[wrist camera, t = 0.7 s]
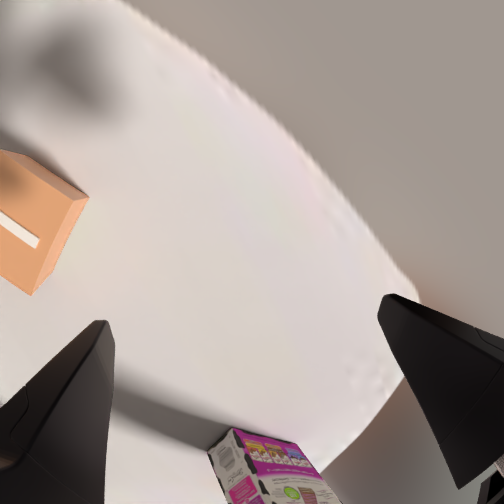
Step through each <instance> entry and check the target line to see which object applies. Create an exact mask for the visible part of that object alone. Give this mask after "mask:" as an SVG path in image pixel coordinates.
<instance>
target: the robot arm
mask: <svg viewBox="0 0 504 504" xmlns="http://www.w3.org/2000/svg"><path fill="white" fill-rule="evenodd" d="M377 318H378V322H379V324H380V326H381V328H382V330H383V333H384V335H385V337H386V340H387V342H388V344H389V347H390V349H391V351H392V353H393V355H394V357H395V359H396V361H397V363H398V365H399V366H400V368H401V370H402V372H403V374H404V376H405V378H406V379H407V381H408V383H409V385H410V387H411V389H412V391H413V393H414V395H415V397H416V399H417V401H418V403H419V405H420V406H421V409H422V411H423V413H424V415H425V417H426V419H427V421H428V423H429V425H430V427H431V429H432V431H433V433H434V436H435V438H436V440H437V442H438V444H439V447H440V449H441V451H442V453H443V456H444V458H445V460H446V463H447V465H448V467H449V470H450V472H451V474H452V477H453V479H454V481H455V484H456V486H457V488H458V489H461V488H462V487H464V486H465V485H466V484H468V483H469V482H471V481H472V480H473V479H474V478H476V477H477V476H478V475H480V474H481V473H482V472H483V471H485V470H486V469H487V468H488V467H489V466H491V465H492V464H493V463H494V465H495V466H496V468H497V470H496V471H495V472H494V473H493V474H491V475H490V476H489V477H488V478H487V479H486V480H485V481H483V482H482V483H481V488H480V493H479V498H478V502H477V504H504V339H503V338H500V337H498V336H495V335H493V334H490V333H488V332H485V331H483V330H481V329H478V328H476V327H475V328H474V327H473V326H471V325H469V324H466V323H464V322H462V321H459V320H457V319H454V318H452V317H450V316H447V315H445V314H443V313H440V312H438V311H436V310H433V309H431V308H428V307H426V306H424V305H421V304H419V303H416V302H414V301H411V300H409V299H407V298H404V297H402V296H399V295H397V294H387V295H384V296H383V298H382V301H381V304H380V307H379V311H378V315H377ZM114 359H115V342H114V338H113V335H112V332H111V329H110V325H109V323H108V321H106V320H95V321H93V322H92V323H91V324H90V325H89V326H88V327H86V328H85V329H84V330H83V331H82V332H81V333H80V334H79V335H78V336H76V337H75V338H74V339H73V340H72V341H71V342H70V343H69V344H68V345H67V346H65V347H64V348H63V349H62V350H61V351H60V352H59V353H58V354H57V355H56V356H55V357H54V358H53V359H51V360H50V361H49V362H48V363H47V364H46V365H45V366H44V367H43V368H42V369H41V370H40V371H39V372H38V373H37V374H36V375H35V376H34V377H33V378H31V379H30V380H29V381H28V382H27V383H26V385H25V386H26V387H25V386H23V387H22V388H21V389H20V390H19V391H18V392H17V393H16V394H15V395H14V396H13V397H12V398H11V399H10V400H9V401H8V402H7V403H6V404H4V405H3V406H2V407H1V408H0V504H104V492H105V467H106V452H107V440H108V429H109V420H110V412H111V404H112V396H113V383H114Z"/></svg>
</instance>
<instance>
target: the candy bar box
mask: <svg viewBox="0 0 504 504" xmlns="http://www.w3.org/2000/svg"><path fill="white" fill-rule="evenodd" d="M207 454H208V457H209V460H210V462H211V465H212V467H213V469H214V472H215V474H216V477H217V479H218V482H219V484H220V486H221V489H222V491H223V493H224V495H225V498H226V500H227V502H228V504H343V503H342V502H341V501H340V500H339V499H338V497H337V496H336V495H335V494H334V492H333V491H332V490H331V489H330V488H329V486H328V485H327V484H326V482H325V481H324V480H323V479H322V477H321V476H320V475H319V473H318V472H317V471H316V469H315V468H314V467H313V465H312V464H311V463H310V461H309V460H308V459H307V457H306V456H305V455H304V453H303V452H302V451H301V449H300V448H299V447H298V445H297V444H294V443H289V442H285V441H280V440H276V439H271V438H267V437H263V436H259V435H256V434H252V433H249V432H245V431H242V430H238V429H235V428H231V429H230V430H229V431H228V432H227V433H226V434H225V435H224V436H223V437H222V438H221V439H220V440H219V441H217V442H216V443H215V444H214V445H213V446H212V447H211V448H210V449H209V450H208V451H207Z"/></svg>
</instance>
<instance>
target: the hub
mask: <svg viewBox="0 0 504 504" xmlns="http://www.w3.org/2000/svg"><path fill="white" fill-rule="evenodd" d="M88 199H89V197H88V196H87V195H85V194H84V193H82V192H81V191H79V190H78V189H76V188H74V187H73V186H71V185H70V184H68V183H67V182H65V181H64V180H62V179H61V178H59V177H58V176H56V175H55V174H53V173H52V172H50V171H49V170H47V169H46V168H44V167H43V166H41V165H40V164H38V163H37V162H36V161H34V160H33V159H31V158H30V157H28V156H26V155H22V154H18V153H14V152H10V151H6V150H2V149H0V275H1V276H2V277H4V278H5V279H6V280H8V281H9V282H11V283H12V284H13V285H15V286H16V287H18V288H19V289H21V290H22V291H24V292H25V293H27V294H28V295H30V296H32V294H33V293H34V292H35V291H36V290H37V289H38V287H39V286H40V285H41V284H42V283H43V282H44V281H45V279H46V278H47V277H48V276H49V275H50V274H51V273H52V272H53V270H54V267H55V265H56V263H57V260H58V258H59V256H60V254H61V252H62V249H63V247H64V245H65V243H66V241H67V239H68V237H69V235H70V233H71V231H72V229H73V227H74V225H75V223H76V221H77V219H78V217H79V216H80V214H81V212H82V210H83V208H84V206H85V204H86V203H87V201H88Z"/></svg>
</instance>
